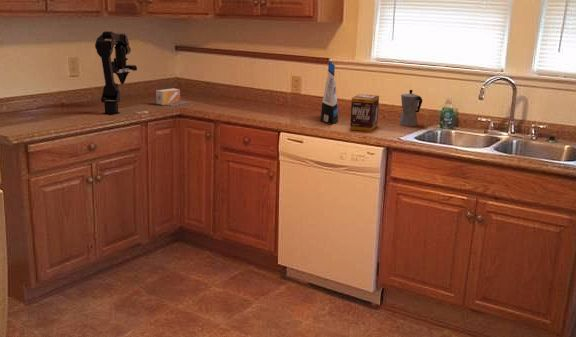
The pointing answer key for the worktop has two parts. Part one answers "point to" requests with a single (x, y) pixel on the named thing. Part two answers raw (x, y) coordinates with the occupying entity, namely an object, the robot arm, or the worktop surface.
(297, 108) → the worktop surface
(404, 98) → the coffeepot
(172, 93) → the small box
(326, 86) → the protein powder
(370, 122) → the supplement box
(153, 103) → the mat
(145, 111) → the coaster
